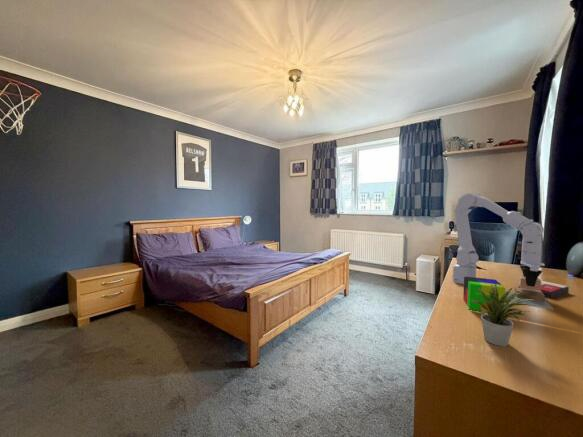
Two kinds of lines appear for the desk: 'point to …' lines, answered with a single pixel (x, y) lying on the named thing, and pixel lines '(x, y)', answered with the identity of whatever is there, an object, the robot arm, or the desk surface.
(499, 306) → the house plant
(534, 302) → the baseplate
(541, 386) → the desk surface
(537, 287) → the terracotta brick
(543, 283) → the calculator
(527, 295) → the walnut base brick
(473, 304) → the puzzle toy
